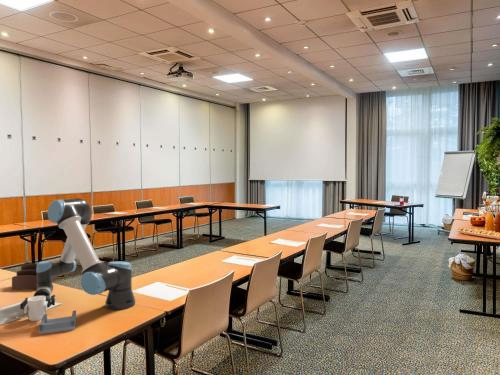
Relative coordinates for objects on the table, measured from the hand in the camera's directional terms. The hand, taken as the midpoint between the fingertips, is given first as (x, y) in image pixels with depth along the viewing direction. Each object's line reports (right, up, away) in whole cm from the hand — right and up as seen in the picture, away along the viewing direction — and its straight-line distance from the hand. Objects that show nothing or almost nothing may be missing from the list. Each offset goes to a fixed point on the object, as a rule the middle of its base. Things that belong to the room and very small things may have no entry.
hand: (35, 309), depth 180 cm
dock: (+13, -6, -4) cm, 15 cm away
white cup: (-2, -6, +5) cm, 8 cm away
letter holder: (-34, -5, +57) cm, 66 cm away
